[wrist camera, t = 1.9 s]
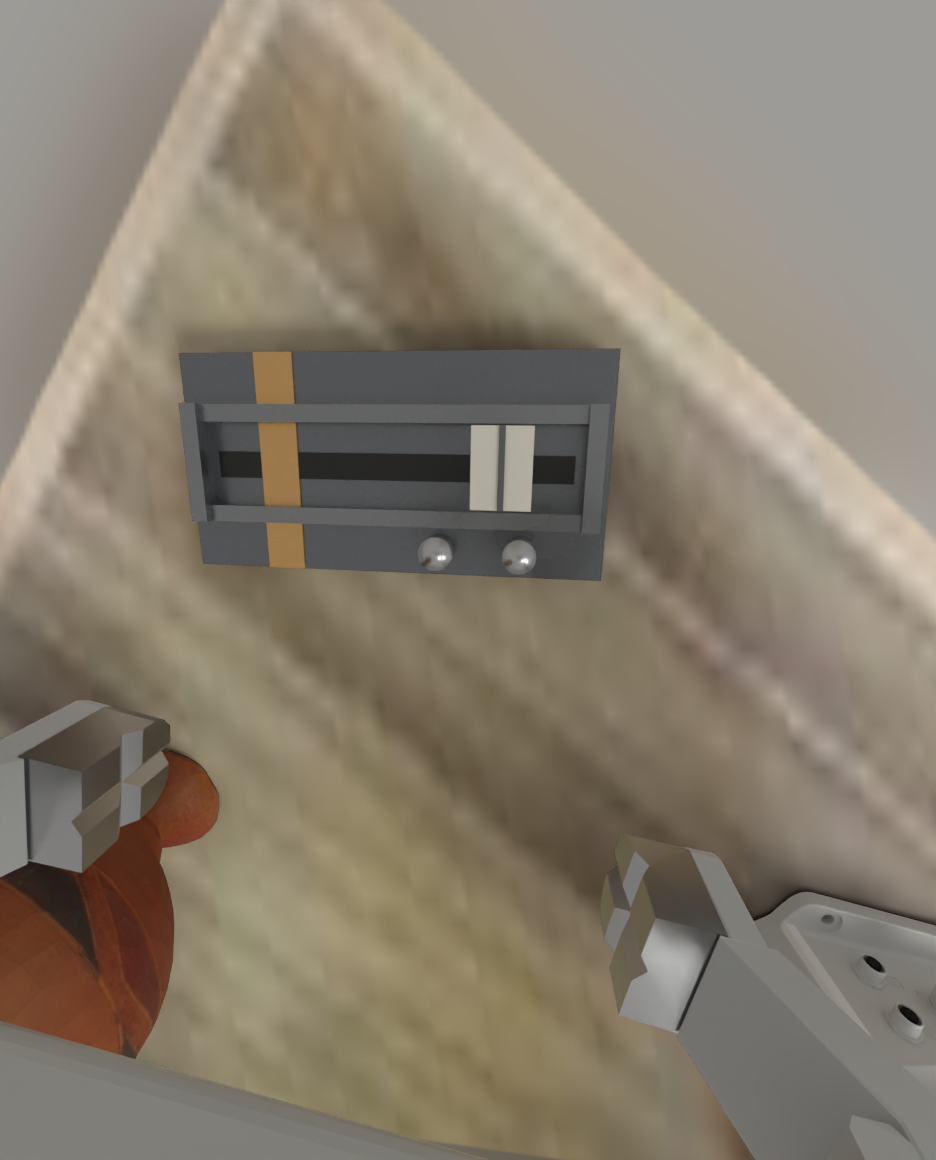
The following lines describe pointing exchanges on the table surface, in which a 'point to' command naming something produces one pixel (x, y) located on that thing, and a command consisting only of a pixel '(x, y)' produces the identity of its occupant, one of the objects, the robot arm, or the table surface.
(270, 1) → the table surface
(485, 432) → the fader cap
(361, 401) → the console
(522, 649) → the table surface
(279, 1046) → the table surface
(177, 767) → the terracotta clay pot
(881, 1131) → the robot arm
